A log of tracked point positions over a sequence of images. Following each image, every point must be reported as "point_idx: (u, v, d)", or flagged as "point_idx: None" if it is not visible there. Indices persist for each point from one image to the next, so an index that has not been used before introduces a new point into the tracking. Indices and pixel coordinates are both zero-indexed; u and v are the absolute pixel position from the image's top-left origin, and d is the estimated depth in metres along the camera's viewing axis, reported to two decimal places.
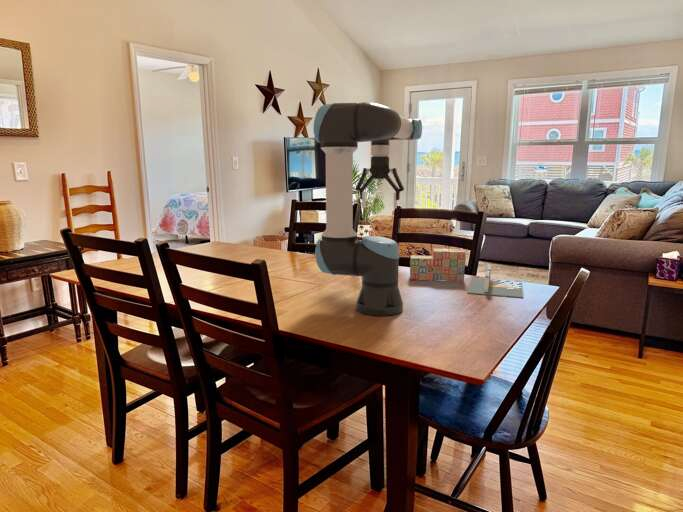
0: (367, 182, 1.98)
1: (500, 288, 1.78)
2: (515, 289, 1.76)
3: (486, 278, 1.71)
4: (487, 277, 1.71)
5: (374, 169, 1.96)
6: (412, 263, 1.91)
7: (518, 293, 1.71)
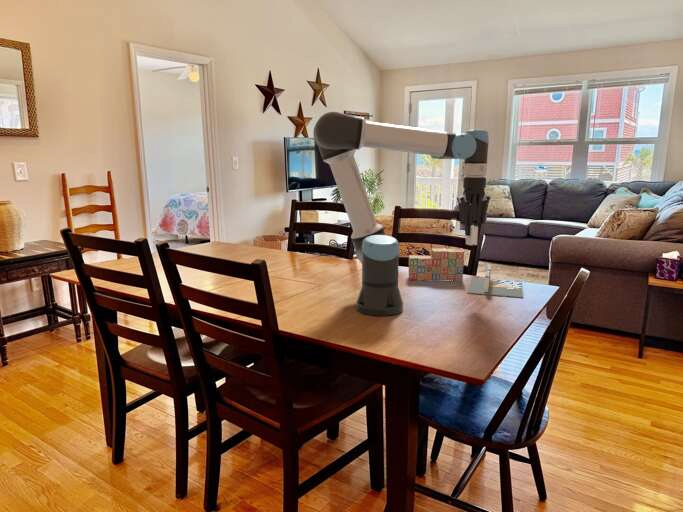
0: None
1: (500, 288, 1.78)
2: (515, 289, 1.76)
3: (486, 278, 1.71)
4: (487, 277, 1.71)
5: None
6: (411, 263, 1.91)
7: (518, 293, 1.71)
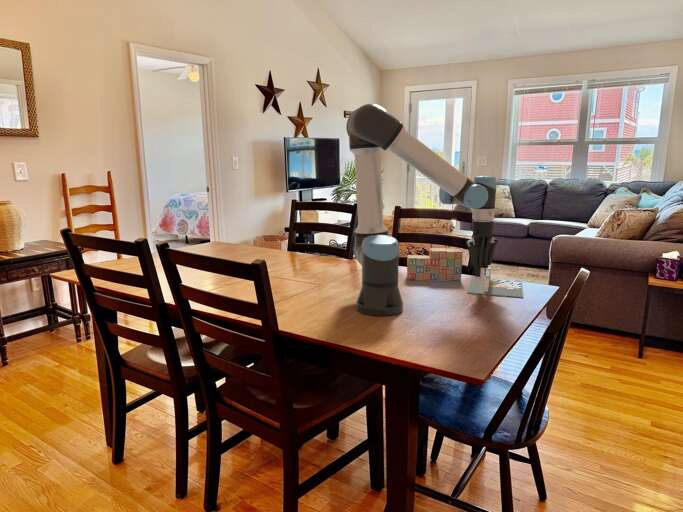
0: None
1: (500, 288, 1.78)
2: (515, 289, 1.76)
3: (486, 278, 1.71)
4: (487, 277, 1.71)
5: None
6: (410, 263, 1.91)
7: (518, 293, 1.71)
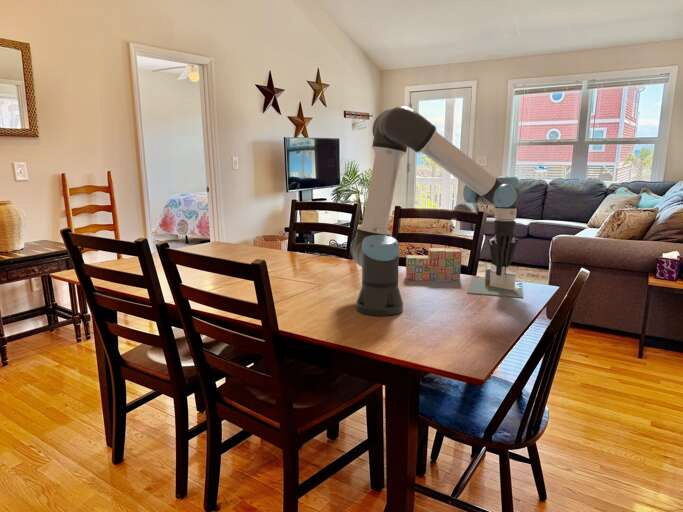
0: None
1: (500, 288, 1.78)
2: (515, 289, 1.76)
3: (515, 276, 1.74)
4: (515, 275, 1.74)
5: None
6: (409, 263, 1.91)
7: (518, 293, 1.71)
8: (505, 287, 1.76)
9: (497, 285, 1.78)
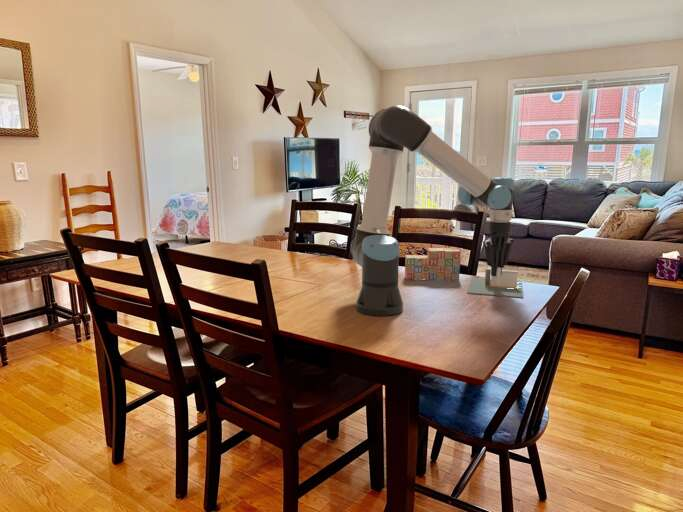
0: None
1: (500, 288, 1.78)
2: (515, 289, 1.76)
3: None
4: None
5: None
6: (408, 263, 1.91)
7: (518, 293, 1.71)
8: (507, 285, 1.79)
9: None
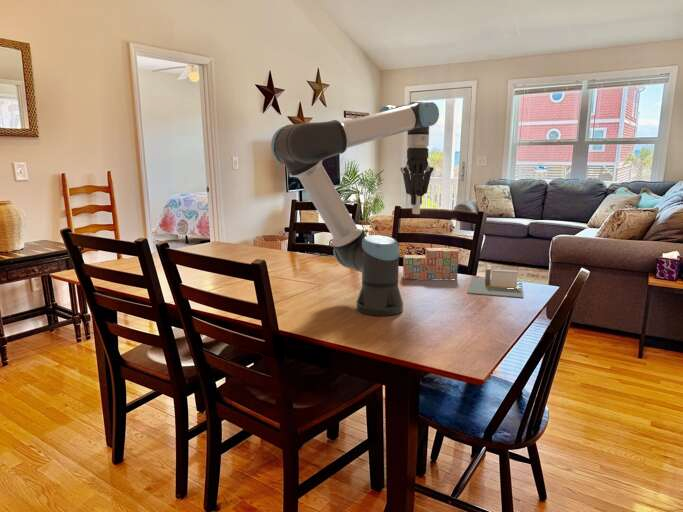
0: None
1: (500, 288, 1.78)
2: (515, 289, 1.76)
3: None
4: None
5: None
6: (407, 263, 1.91)
7: (518, 293, 1.71)
8: (507, 285, 1.79)
9: (499, 284, 1.80)
